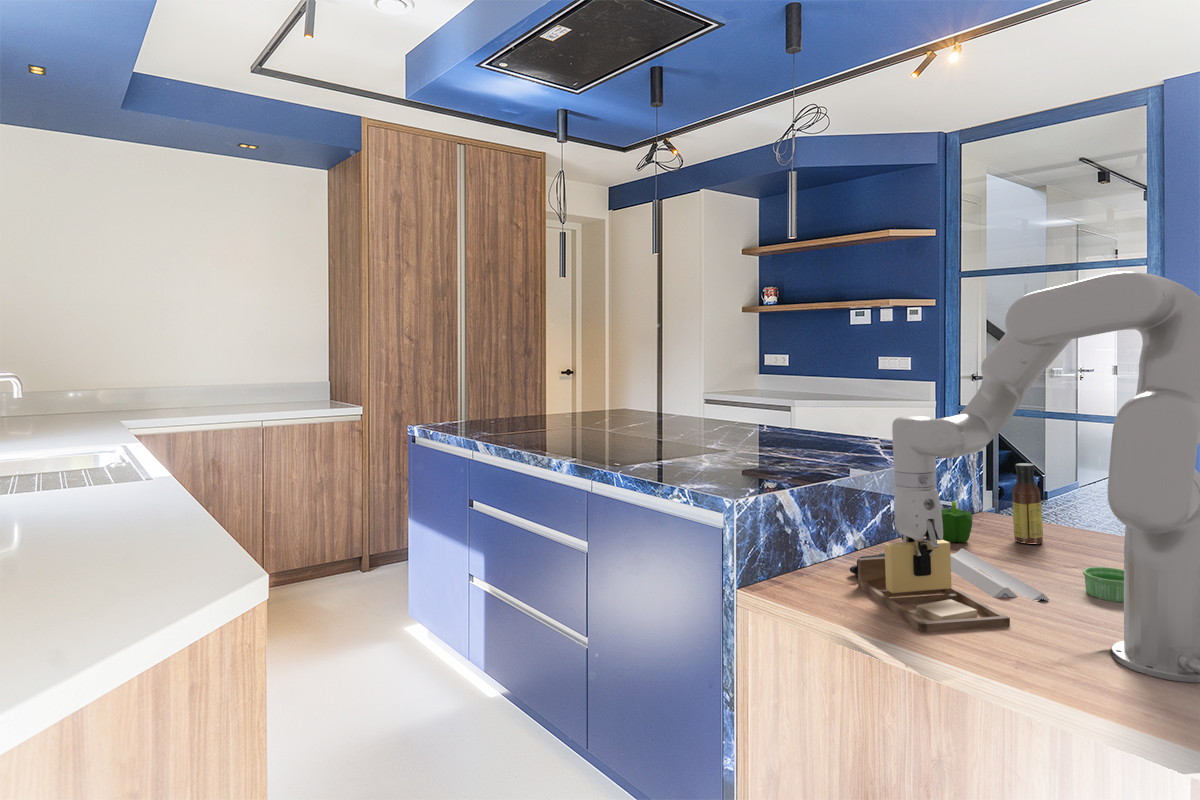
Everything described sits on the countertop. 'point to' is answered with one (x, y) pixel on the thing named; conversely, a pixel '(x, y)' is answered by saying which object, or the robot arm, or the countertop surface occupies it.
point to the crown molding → (993, 586)
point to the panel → (902, 568)
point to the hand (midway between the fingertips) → (918, 572)
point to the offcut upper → (945, 610)
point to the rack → (924, 601)
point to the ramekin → (1105, 583)
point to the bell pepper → (956, 524)
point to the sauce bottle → (1027, 506)
